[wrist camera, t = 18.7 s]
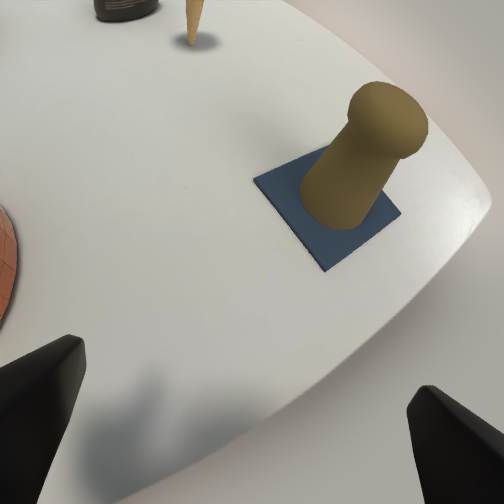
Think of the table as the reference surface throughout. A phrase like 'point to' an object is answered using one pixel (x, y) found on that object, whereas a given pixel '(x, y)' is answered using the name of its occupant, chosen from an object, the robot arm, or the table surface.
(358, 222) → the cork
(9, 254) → the bowl
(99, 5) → the jar
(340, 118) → the table surface
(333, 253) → the mat
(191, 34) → the ice cream cone
